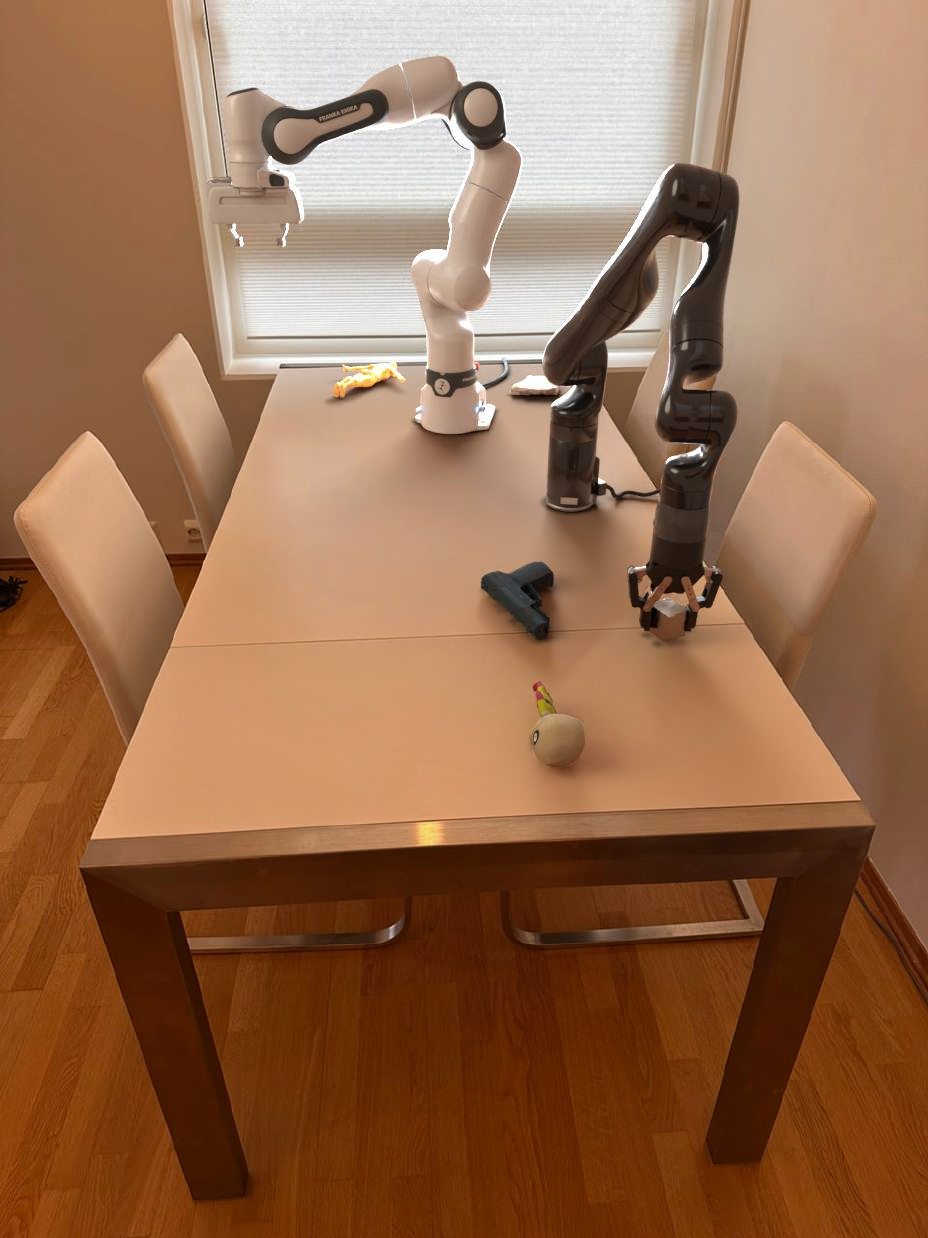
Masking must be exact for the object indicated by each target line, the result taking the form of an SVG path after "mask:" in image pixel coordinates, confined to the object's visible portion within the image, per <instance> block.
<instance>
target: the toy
mask: <svg viewBox="0 0 928 1238" xmlns="http://www.w3.org/2000/svg"><path fill="white" fill-rule="evenodd" d="M532 691H533V692H535V705H536V708H537V711H538V714H539V716H540V719H538V721H537V722H536V723H535V725H534V726H533V728H532V730H531V732H530V734H529V743H530V745H531V746H533V748H534V752H535V757H536V758H537V760H538V761H539V762H540V763H542V764H544V765H546V766H548V767H550V768H554V769H562V768H568V767H571V766H572V765H574V764H575V763H576V762H577V761H578V759H580V756H581V755H582V754H583V751H584V749H585V745H586V736H585V729H584V725H583V723H582V721H581V720H580V719H578V718H575V717H574V716H571V715H569V714H564V713H558V712H557V709H556V707H555V704H554V700H553V698H552V696H551V694H550V693H549V692H548V690H547V688H546V686H544V684H543V683H542V681H540V680H537V681H536V682H535V683H533V685H532Z"/></svg>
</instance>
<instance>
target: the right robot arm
mask: <svg viewBox="0 0 928 1238" xmlns="http://www.w3.org/2000/svg"><path fill="white" fill-rule="evenodd" d="M641 209H642V210H641V211H640V213H639V215H638V217H637V219H636V220H635V222H634V224H633V226H632V227H631V229H630V231H629V232H628V234H627V236H626V237H625V238H624V240H623V242H622V243H621V245H619V247H618V249H617V251H616V252H615V254H614V255H613V256H612V257H611V259H610V260H609V261H608V262H607V264H606V265H605V267H604V268H603V270H602V271H601V273H600V274H599V275H598V277H597V279H596V280H595V281H594V283H593V285H592V286H591V288H590V289H589V291H588V292H587V294H586V296H585V297H584V298H583V299H582V301H581V302H580V304H578V306H577V308H576V309H575V310H574V312H572V314H571V316H570V317H569V318H568V319H567V320H566V321H565V322H564V323H563V324H562V325H561V326H560V328H559V329H557V331H555V333H554V334H553V335H552V336H551V338H549V340H548V342H547V343H546V345H545V348H544V351H543V354H542V362H541V364H542V365H541V367H542V368H541V369H542V372H543V373H542V374H543V376H545V378H546V379H547V380H548V381H549V382H550V383H551V384H553V385H555V386H559V388H567V387H572V388H571V389H570V390H569V391H568V392H567V393H565V394H564V395H563V396H561V397H559V398H558V399H556V400H555V401H554V402H552V403H551V405H550V410H549V431H548V448H547V449H548V450H547V453H548V454H547V473H546V492H545V504H546V506H548V507H549V508H551V509H553V510H555V511H559V512H564V513H565V512H567V513H576V512H582V511H586V510H588V509H590V508H591V507H592V506H593V505H596V504H597V501H598V500H597V499H598V497H602V496H606V495H607V490H608V491H609V492H610V495H611V496H612V497H613V498H614V499H617V500H618V499H621V498H622V497H624V496H625V495H632V496H636V497H642V498H647V497H653V496H656V495H657V494H658V500H657V504H656V508H655V513H654V518H653V521H652V526H653V528H652V529H653V530H652V536H651V545H650V554H649V559H648V561H647V562H646V564H645V566H639V567H635V565H633V564H630V565H628V566H627V567H626V577H627V586H628V588H627V589H628V597H629V601H630V605H631V607H632V608H634V609H636V608H637V609H639V615H638V616H639V618H638V621H639V622H638V623H639V625H640V628H641V629H643V631H644V632H645V633H647V632H648V633H650V632H649V631H650V623H651V615H652V611H651V609H652V607H653V605H654V604H655V602H658V601H660V599H661V597H662V596H663V595H668V594H677V595H684V594H685V595H686V598H687V601H688V604H686V606H685V607H686V608H688V609H689V613H688V620H687V626H686V633H691V632H692V629H695V628H696V626H697V622H698V621H697V620H698V616H699V615H698V614H699V611H700V610H701V609H704V608H705V609H711V608H712V607H713V605H714V602H715V599H716V597H717V595H718V591H719V589H720V586H721V584H722V582H723V578H724V576H723V574H722V571H721V568H720V567H719V566H718V565H713V566H712V567H708V566H704V559H705V558H704V557H705V551H706V545H707V538H708V532H709V524H710V518H711V500H712V499H711V498H712V495H713V487H714V481H715V476H716V472H717V470H718V466H719V464H720V462H721V459H722V458H723V455H724V453H725V450H726V449H727V446H728V444H729V442H730V440H731V438H732V437H733V434H734V432H735V430H736V427H737V423H738V421H739V420H738V419H739V405H738V402H737V400H736V399H735V396H733V394H732V393H730V392H729V391H727V390H723V389H689V388H688V389H687V388H685V387H687V386H688V385H693V384H695V383H696V384H697V383H700V382H705V381H708V380H710V379H714V378H716V377H717V376H718V375H719V374H720V373H721V371H722V369H723V365H724V327H725V326H724V318H725V316H724V313H725V302H726V301H725V300H726V293H727V287H728V281H729V276H730V275H729V274H730V269H731V263H732V260H733V259H732V258H733V252H734V246H735V239H736V233H737V226H738V219H739V212H740V188H739V184H738V181H737V180H736V178H735V177H733V176H732V175H730V174H728V173H725V172H723V171H718V170H715V169H711V168H708V167H703V166H700V165H695V164H692V163H687V162H676V163H674V164H672V165H671V166H669V167H668V168H667V169H666V170H665V171H664V172H663V173H662V175H661V177H659V179H658V180H657V182H656V184H655V186H654V187H653V189H652V191H651V193H650V194H649V196H648V198H647V200H646V201H645V204H644V206H643V207H642V208H641ZM667 237H671V238H677V239H681V240H686V241H690V242H693V243H697V244H701V247H702V248H701V249H702V260H701V264H700V266H699V268H698V270H697V272H696V274H695V275H694V277H693V278H692V279H691V281H690V283H689V284H688V285H687V287H686V288H685V289H684V290H683V292H682V293H681V295H680V296H679V298H678V299H677V301H676V303H675V304H674V305H675V306H674V307H673V310H672V313H671V317H670V324H669V359H668V368H667V373H666V379H665V383H664V387H663V388H662V391H661V395H660V397H659V400H658V403H657V407H656V410H655V414H654V420H653V421H654V429H655V432H656V434H657V436H658V437H659V438H660V439H661V440H662V441H663V442H664V443H669V444H680V445H681V444H684V445H686V444H687V445H699V446H698V448H696V449H695V450H693V451H690V452H686V453H679V454H677V455H673V456H671V457H669V458H667V459H666V460H665V461H664V463H663V466H662V468H661V476H660V485H659V488H658V489H655V490H652V491H648V492H641V491H636V490H631V489H629V490H623V491H621V492H619V493H618V494H617V493H616V491H615V489H614V488H613V487H612V486H611V485H609V484H608V482H606V481H605V480H603V479H602V478H600V477H599V475H600V463H601V460H600V459H601V458H600V457H599V456H597V447H598V446H597V445H598V434H599V433H598V431H599V420H600V413H601V411H602V408H603V405H604V398H605V391H606V390H605V389H606V383H607V382H606V381H607V375H608V368H609V352H608V351H609V350H608V345H607V342H606V341H608V340H610V339H611V338H614V337H616V336H617V335H619V334H620V333H622V332H624V331H626V330H627V329H629V328H630V327H631V326H632V325H633V324H635V323H636V322H637V321H638V320H639V318H640V317H641V316H642V315H643V314H644V312H646V310H647V309H648V308H649V307H650V306H651V304H652V302H653V301H654V299H655V298H656V296H657V294H658V291H659V285H660V272H659V266H658V259H657V247H658V245H659V244H660V243H661V242H662V241H663V240H664V239H665V238H667ZM645 576H647V578H648V579H649V580H650V581H649V583H648V584H647V587H646V590H645V592H644V594H643V595H642V596H641V595H640V591H639V584H641V583H642V582H643V579H644V577H645ZM703 577H704V579H705V585H704V588H703V590H702V592H701V595H700V596H697V595H696V592H695V590H694V586H695V585H696V584H697V583H698V582H699V580H701V579H702V578H703Z"/></svg>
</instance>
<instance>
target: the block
mask: <svg viewBox="0 0 928 1238" xmlns="http://www.w3.org/2000/svg"><path fill="white" fill-rule="evenodd" d="M651 611H652V615H651V623H650V631H649V632H648V633H650V634H651V635H653V636H654V637H656V638H657V639H659V640H661V641H662V642H664V643H665V644H667V643H670V642H672V641H674V640H677V639H679V638H682V637H685V636H686V634H687V632H686V626H687V620H688V613H689V609H688V608H686V606H684V605H683V604H682V603H680V602H678V601H676V600H674V599H673V598H671V597H666V598H663V599H661V600H658V601H656V602H655V604H654V605H653V607H652V609H651Z"/></svg>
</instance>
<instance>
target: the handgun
mask: <svg viewBox="0 0 928 1238" xmlns="http://www.w3.org/2000/svg"><path fill="white" fill-rule="evenodd" d="M480 579H481V581H480V589H481V590H482V591H484V592H485V593H486V594H488V595H489V597H490V598H491V599H492V600H494V601H495V602H497V603H498V604H499V605H500V606H501V607H502V608H503V609H505V611H506V612H507V613H508V614H510V615H511V617H512V618H513V619H515V621H517V622H518V623H519V624H520V625H521V626H522V627H524V628H525V631H526V633H530V634H531V635H532V636H533V637H534V638H535V639H536V640H539V639H543V638H546V637H547V636H548V634H549V629H550V617H549V616H548V614H546V613H545V612H544V611H543V610H542V609H541V607H543V598H542V596H541V595H539V593H540V592H542V591H545V590H546V589H548V588H549V587H550V588H552V587H553V586H554V583H555V582H554V581H555V575H554V571H553V570H552V569H551V568H550V567H549V566H548V565H547V564H546V562H543V561H531V562H529V563H527V564H525V565H523V566H520V567H518V568H517V569H515V570H513V571H511V572H510V573H507V572H503V571H500V570H495V571H492V572H491V571H490V572H487V573H485V574H484V575H483V576H482V577H481V578H480Z"/></svg>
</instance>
